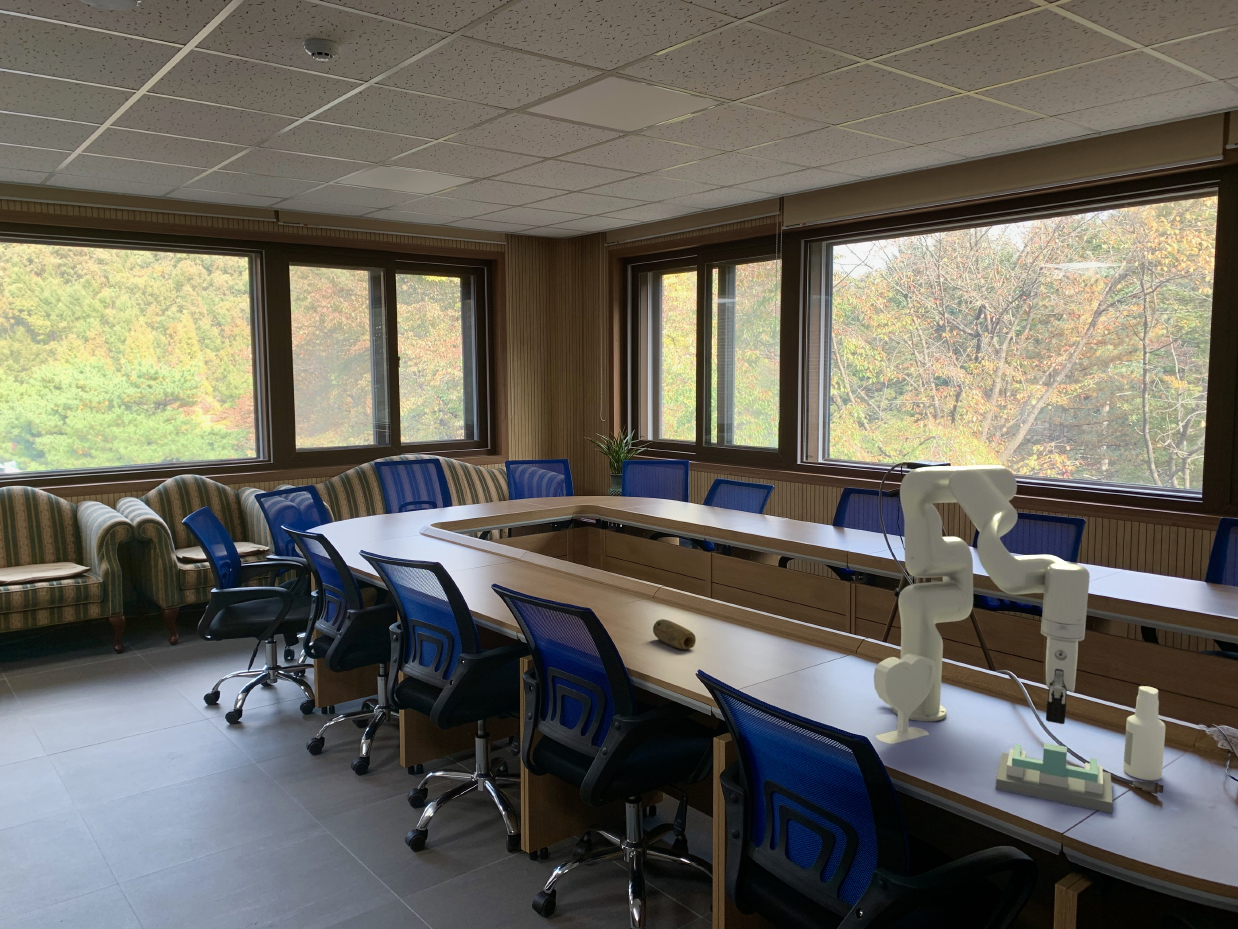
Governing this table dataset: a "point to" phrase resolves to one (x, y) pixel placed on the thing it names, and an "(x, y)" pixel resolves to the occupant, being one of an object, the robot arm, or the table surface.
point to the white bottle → (1145, 738)
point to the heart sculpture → (904, 691)
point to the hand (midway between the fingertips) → (1055, 713)
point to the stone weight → (674, 634)
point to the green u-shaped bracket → (1055, 763)
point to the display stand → (1055, 785)
